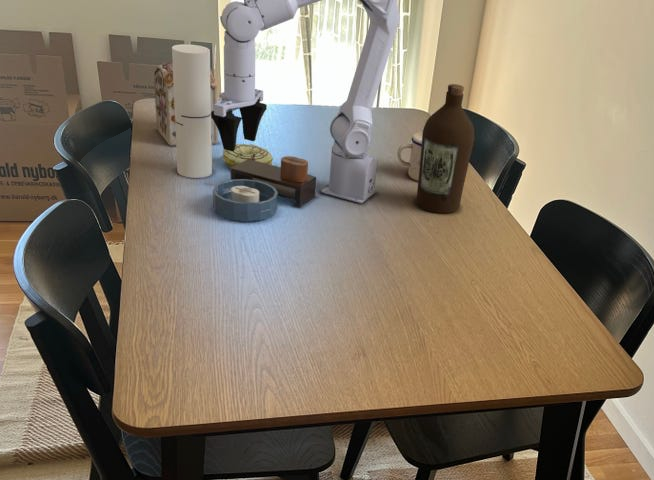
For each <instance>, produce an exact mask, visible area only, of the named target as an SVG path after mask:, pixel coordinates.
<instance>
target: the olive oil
mask: <svg viewBox="0 0 654 480" xmlns="http://www.w3.org/2000/svg"><path fill="white" fill-rule="evenodd" d="M464 91H465V87H464V86H463V85H461V84H456V83H449V84H448V85H447V91H446V94H445V102H444V104H443V105H442V106H441V107H440V108H438V109H437V110H436V111H435V112H434V113H432V114H431V115H430V116H429V117H428V119H426V121H425V124H424V126H423V129H422V132H423V134H422V146H421V158H420V169H419V180H418V181H417V188H416V189H417V192H416V200H415V202H416V203H415V204H416V205H417V206H418V207H419V208H421V209H423V210H425V211H427V212H431V213H436V214H452V213H456V212H457V211H459V209H460V206H461V201H462V196H463V192H464V186H465V181H466V177H467V173H468V168H469V164H470V158H471V155H472V151H473V147H474V142H475V129H474V125H473V122H472V120H471V119H470V118H469V116H468V115H467V113H466V111H465V110H464V109H463V98H464Z"/></svg>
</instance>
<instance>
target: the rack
mask: <svg viewBox="0 0 654 480" xmlns="http://www.w3.org/2000/svg"><path fill="white" fill-rule="evenodd" d="M280 171H281V166H277V165H273V164H272V165H270V164H266V163H262V162H258V161H254V160H251V159H247V160H245V161H243V162H242V163H240V164H238V165H236V166H234V167H232V168H230V180H234V179H247V180H256V181H260V182H264V183H267V184H269V185H271V186H273V187H274V188H275V189H276V190H277V192H278V198H283V199H286V200H291V201H294V207H295V208H299V209H300V208H301V207H303V206H305V205H306V204H307V203H309V202H311V200H313V199H314V198H316V189H317V176H315V175H311V174H308V173H307V180H306V181H304V182H293V181H290V180H285V179H283V178H281V177H280Z"/></svg>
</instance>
